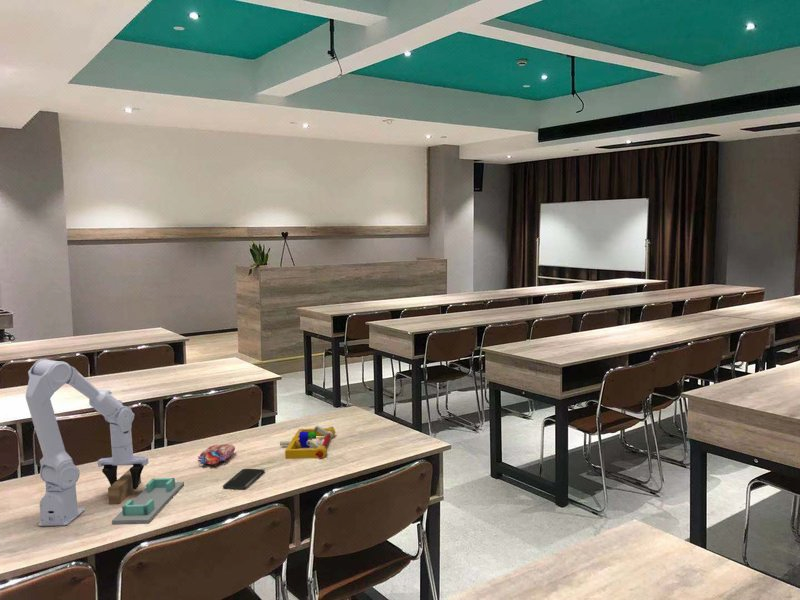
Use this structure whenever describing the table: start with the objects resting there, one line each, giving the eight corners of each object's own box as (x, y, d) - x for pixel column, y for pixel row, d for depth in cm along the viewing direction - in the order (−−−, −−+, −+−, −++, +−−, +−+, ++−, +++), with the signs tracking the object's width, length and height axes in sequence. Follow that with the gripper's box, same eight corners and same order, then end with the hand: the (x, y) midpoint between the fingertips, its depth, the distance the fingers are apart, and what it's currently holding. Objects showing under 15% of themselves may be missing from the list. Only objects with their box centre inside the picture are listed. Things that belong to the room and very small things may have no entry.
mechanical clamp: (336, 417, 241) (324, 442, 211) (336, 433, 242) (325, 460, 212) (289, 418, 242) (270, 443, 212) (290, 434, 242) (271, 461, 213)
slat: (119, 504, 180) (118, 488, 180) (109, 505, 180) (107, 488, 180) (141, 483, 196) (140, 467, 196) (131, 483, 196) (130, 468, 196)
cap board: (148, 523, 167) (147, 510, 167) (112, 524, 167) (111, 511, 167) (184, 485, 193) (183, 474, 193) (152, 485, 193) (151, 474, 193)
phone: (265, 469, 202) (245, 487, 187) (265, 472, 202) (245, 491, 187) (243, 468, 204) (221, 486, 189) (243, 471, 204) (221, 490, 189)
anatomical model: (204, 457, 221) (191, 464, 206) (206, 441, 221) (193, 446, 206) (234, 460, 221) (224, 467, 206) (236, 444, 221) (226, 449, 206)
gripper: (151, 439, 191) (154, 482, 192) (104, 441, 191) (107, 483, 192) (141, 447, 184) (144, 491, 185) (92, 448, 184) (96, 493, 185)
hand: (125, 488), depth 188 cm, fingers open, 6 cm apart
